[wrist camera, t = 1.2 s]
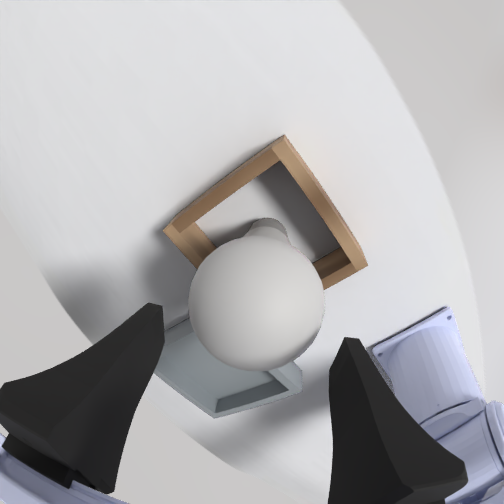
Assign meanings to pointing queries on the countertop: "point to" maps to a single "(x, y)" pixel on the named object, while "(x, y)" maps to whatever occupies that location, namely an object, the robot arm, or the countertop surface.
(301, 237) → the countertop surface
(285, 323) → the lightbulb
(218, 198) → the holder collar
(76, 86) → the countertop surface
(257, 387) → the parts tray
